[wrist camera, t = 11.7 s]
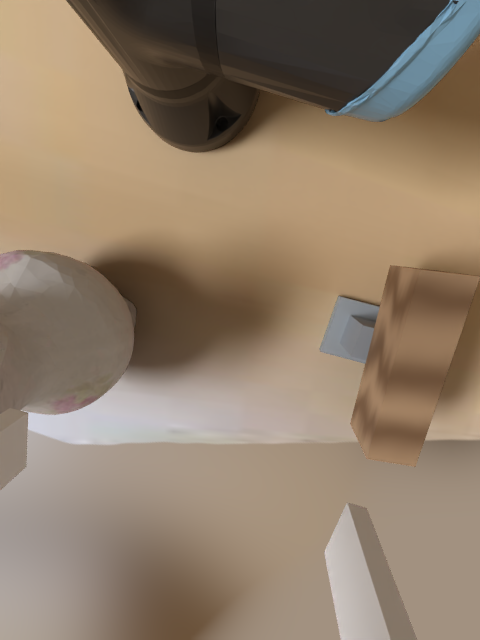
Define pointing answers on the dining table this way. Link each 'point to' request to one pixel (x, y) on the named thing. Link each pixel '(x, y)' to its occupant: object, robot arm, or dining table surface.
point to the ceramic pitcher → (59, 333)
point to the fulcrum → (350, 329)
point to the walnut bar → (409, 360)
